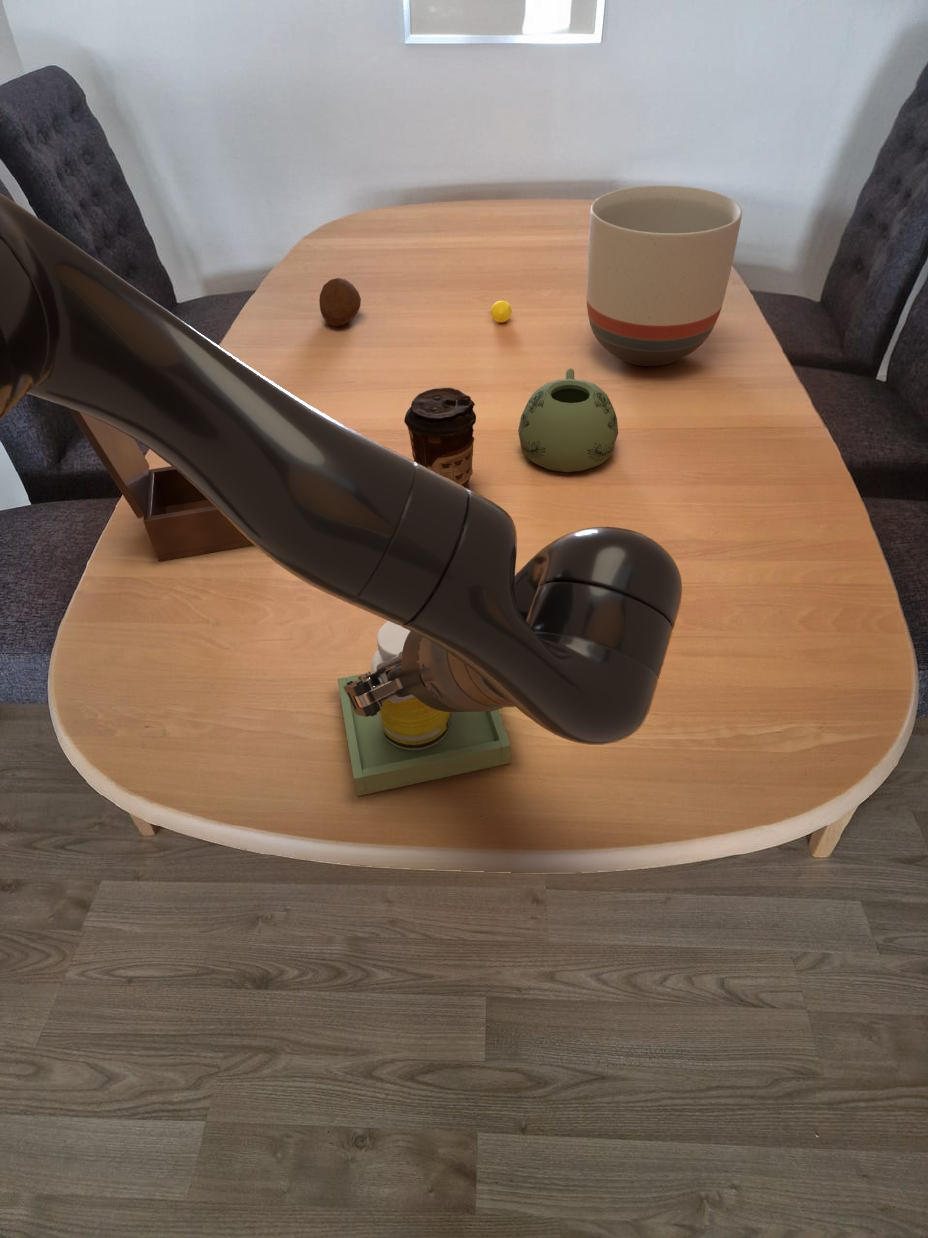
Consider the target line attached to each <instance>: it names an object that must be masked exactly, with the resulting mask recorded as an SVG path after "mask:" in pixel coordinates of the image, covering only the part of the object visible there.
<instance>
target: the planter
mask: <svg viewBox="0 0 928 1238" xmlns="http://www.w3.org/2000/svg"><path fill="white" fill-rule="evenodd" d="M742 218H743V209H742V207H741V205H740V204H739V203H738V202H737V201H736V200H734V199H733V198H731V197H728V196H726V195H725V194H721V193H719V192H715V191H713V190H708V189H704V188H698V187H692V186H681V185H664V184H663V185H662V184H661V185H641V186H633V187H626V188H621V189H617V190H613V191H610V192H608V193H605V194H602V195H601V196H599V197H598V198H596V199H595V200H594V201H593V202H592V203H591V206H590V213H589V227H588V241H587V243H588V244H587V258H586V259H587V261H586V293H585V294H586V298H585V299H586V311H587V317H588V321H589V325H590V328H591V331H592V333H593V335H594V337H595V338H596V340H597V341H598V342H599V344H600V345H601V346H602V347H603V348H604V349H605V350H606V351H608V353H610V354H611V355H612V356H614V357H615V358H617V359H619V360H620V361H623V362H625V363H628V364H632V365H636V366H642V367H658V366H664V365H669V364H673V363H675V362H677V361H681V360H682V359H683V358H685V357H687V356H689V355H690V354H692V353H693V352H695V351H696V350H698V348H699V347H700V346H702V345H703V344H704V343H705V341H706V340H707V339H708V338H709V336H710V334H711V333H712V332H713V330H714V328H715V326H716V324H717V321H718V320H719V317H720V315H721V311H722V308H723V304H724V301H725V296H726V293H727V288H728V283H729V280H730V276H731V271H732V266H733V262H734V257H735V253H736V247H737V243H738V238H739V232H740V227H741V222H742Z"/></svg>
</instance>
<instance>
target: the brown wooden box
mask: <svg viewBox="0 0 928 1238" xmlns="http://www.w3.org/2000/svg"><path fill="white" fill-rule="evenodd" d="M142 519H143V521H142V522H143V524H144V527H145V530H146V532H147V535H148V537H149V540H150V543H151V545H152V548H153V551H154V553H155V556H156V559H157V561H158V562H163V561H170V560H176V559H181V558H187V557H192V556H199V555H205V554H210V553H216V552H222V551H223V552H224V551H228V550H235V549H240V548H246V547H253V546H255V545H254V544H253V543H252V542H251V541H249V540H248V539H247V538H246V537H245V536H244V535H243V534H242V533H241V532H240V531H239V530H238V529H237V528H236V527H235V526H234V525H233V524H232V523H231V522H230V521H229V520H228V519H227V518H226V517H225V516H224V515H223V514H222V513H221V512H220V511H219V510H218V509H217V508H216V507H215V506H214V505H213V504H212V503H211V502H210V501H209V500H208V499H207V498H206V497H205V496H204V495H203V494H202V493H201V492H200V491H199V490H198V489H197V488H196V487H195V486H194V485H193V484H192V483H190V482H189V481H188V480H187V479H186V478H185V477H184V476H183V475H182V474H180V473H179V472H178V471H177V470H176V469H175V468H173V467H172V466H171V465H169V466H163V467H158V468H149V475H148V487H147V499H146V511H145V517H142Z"/></svg>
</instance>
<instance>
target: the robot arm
mask: <svg viewBox="0 0 928 1238" xmlns="http://www.w3.org/2000/svg"><path fill="white" fill-rule="evenodd" d="M25 395H30V396H34V397H37V398H39V399H43V400H45V401H49V402H51V403H54V404H57V405H60V406H63V407H65V408H67V407H68V408H71V409H73V410H76V411H78V412H81V413H84V414H86V415H89V416H91V417H93V418H96V419H98V420H100V421H102V422H104V423H106V424H108V425H110V426H112V427H114V428H116V429H118V430H120V431H122V432H123V433H125V434H127V435H128V436H130V437H132V438H134V440H135V441H136V442H138V443H140V444H141V445H143V446H144V447H146V448H148V449H149V450H150V451H151V452H153V453H154V454H156V455H157V456H158V457H159V458H160V459H162V460H163V461H164V462H166V463H167V464H168V465H169V466H172V467H173V468H175V469H176V470H177V471H178V472H179V473H180V474H182V475H183V476H184V477H185V478H186V479H187V480H188V481H189V482H190V483H192V484H193V485H194V486H195V487H196V488H197V489H198V490H199V491H200V492H201V493H202V494H203V495H204V496H205V497H206V498H207V499H208V500H209V501H210V502H211V503H212V504H213V505H214V506H215V507H216V508H217V509H218V510H219V511H220V512H221V513H222V514H223V515H224V516H225V517H226V518H227V519H228V520H229V521H230V522H231V523H232V524H233V525H234V526H235V527H236V528H237V529H238V530H239V531H240V532H241V533H242V534H243V535H244V536H245V537H246V538H247V539H248V540H249V541H251V542H252V543H253V544H254V545H253V546H254V547H256V548H257V549H258V550H259V551H261V553H262V554H264V555H265V556H267V558H269V559H271V560H272V561H273V562H274V563H275V564H277V565H279V566H280V567H282V568H283V569H284V570H286V571H287V572H288V573H289V574H291V575H293V576H294V577H296V578H298V579H299V580H301V581H302V582H304V583H306V584H307V585H309V586H311V587H312V588H315V589H317V590H319V591H320V592H323V593H325V594H326V595H329V596H331V597H333V598H334V599H335V598H336V599H337V600H340V601H342V602H345V603H347V604H349V605H351V606H354V607H356V608H358V609H360V610H363V611H364V612H366V613H367V612H368V613H370V614H371V615H373V616H377V617H378V618H381V619H383V620H385V621H386V622H387V621H390V622H392V623H394V624H397V625H400V626H401V627H403V628H405V629H408V630H410V632H409V634H408V636H407V638H406V640H405V643H404V646H403V651H402V652H400V653H399V655H397V656H395V657H392V658H390V659H388V660H386V661H384V662H382V663H380V664H378V665H377V667H376V669H377V670H376V671H373V672H371V670H370V671H367V672H365V673H362V674H363V675H361V676H359V677H358V680H356V681H354V682H353V681H350V682H348V683H347V685H345V686H343V688H344V690H345V692H346V693H347V695H348V697H349V699H350V701H351V703H352V706H353V708H354V711H355V713H356V715H360V716H364V717H368V716H371V717H372V716H375V715H376V714H377V712H379V711H380V710H381V708H383V704H382V703H383V702H384V701H386V700H390V701H392V702H393V703H394V704H397V703H400V702H403V701H406V700H409V699H412V698H415V697H416V698H417V699H419V700H420V701H421V702H423V703H424V704H426V705H427V706H429V707H431V708H433V709H436V710H439V711H444V712H487V711H495V710H499V711H500V710H503V709H506V708H516V709H518V711H520V712H521V713H522V714H524V715H525V716H526V717H528V718H529V719H530V720H532V722H534V723H536V724H537V725H538V726H540V727H541V728H543V729H544V730H546V731H548V732H549V733H551V734H553V735H554V736H558V737H560V738H562V739H564V740H567V741H569V742H573V743H577V744H580V745H587V746H604V745H610V744H614V743H619V742H620V741H623V740H626V739H628V738H629V737H631V736H632V735H633V734H635V733H637V732H638V730H640V728H641V727H642V726H643V724H644V723H645V722H646V719H647V717H648V715H649V712H650V710H651V706H652V705H653V704H652V703H653V700H654V697H655V693H656V691H657V687H658V683H659V680H660V676H661V672H662V669H663V666H664V662H665V659H666V657H667V656H666V655H667V653H668V649H669V646H670V642H671V639H672V636H673V630H674V628H675V625H676V622H677V618H678V616H679V612H680V609H681V604H682V597H683V581H682V580H683V579H682V576H681V572H680V570H679V567H678V565H677V563H676V562H675V559H674V558H673V557H672V556H671V554H670V553H669V552H668V551H667V549H666V548H664V546H663V545H661V544H659V543H658V542H657V541H655V540H654V539H653V538H652V537H649V536H648V535H645V534H643V533H642V532H641V533H640V532H639V531H635V530H633V529H628V528H622V527H615V526H594V527H587V528H583V529H579V530H576V531H573V532H569V533H567V534H564V535H562V536H559V537H557V538H556V539H555V540H553V541H551V542H550V543H549V544H547V545H546V546H544V547H542V548H541V550H539V551H538V552H537V553H536V554H535V555H534V556H533V557H532V558H531V559H530V560H529V561H528V562H526V564H524V566H523V567H521V568H520V570H519V571H518V572H516V565H517V554H518V551H517V550H518V535H517V528H516V525H515V522H514V520H513V518H512V517H511V515H510V514H509V513H508V512H507V511H506V510H505V509H504V508H502V506H500V505H498V504H497V503H495V502H493V500H490V499H488V498H487V497H485V496H483V495H482V494H480V493H477V492H475V491H473V490H472V489H470V490H469V489H467V488H464V487H463V486H462V485H460V484H458V483H456V482H454V481H452V480H450V479H448V478H446V477H444V476H442V475H440V474H438V473H436V472H434V471H432V470H430V469H429V468H427V467H425V466H423V465H421V464H419V463H417V462H414V460H413V459H411V458H410V457H407V456H405V455H403V454H401V453H399V452H397V451H396V450H393V449H391V448H389V447H387V446H385V445H383V444H381V443H379V442H377V441H375V440H373V439H371V438H369V437H368V436H366V435H364V434H362V433H360V432H359V431H356V430H354V429H353V428H351V427H349V426H347V425H346V424H343V423H341V422H340V421H338V420H336V419H334V418H333V417H331V416H329V415H328V414H326V413H324V412H323V411H321V410H319V409H317V408H316V407H315V406H312V405H310V404H309V403H307V402H305V401H304V400H302V398H299V397H298V396H296V395H294V394H293V393H291V392H290V391H288V390H286V389H285V388H283V387H282V386H280V385H278V384H277V383H275V382H274V381H272V380H271V379H269V378H268V377H266V376H265V375H263V374H261V373H260V372H259V371H257V370H255V369H253V368H252V367H251V366H249V365H247V364H246V363H244V362H243V361H241V360H240V359H239V358H237V357H236V356H235V355H233V354H231V353H230V352H229V351H227V350H226V349H224V348H222V347H221V346H219V345H218V344H217V343H215V342H214V341H212V340H211V339H209V338H208V337H207V336H205V335H203V334H202V333H201V332H199V331H198V330H196V329H195V328H193V327H192V326H190V324H187V323H186V322H185V321H184V320H182V319H180V318H179V317H178V316H176V315H175V314H173V313H172V312H170V311H169V310H168V309H167V308H165V307H164V306H162V305H160V304H159V303H158V302H157V301H154V300H153V299H152V298H151V297H149V296H147V295H146V294H144V293H143V292H141V291H140V290H139V289H137V288H135V287H134V286H133V285H132V284H130V283H129V282H127V281H126V280H125V279H123V278H122V277H120V276H119V275H117V274H116V273H115V272H113V271H112V270H111V269H109V268H107V266H105V265H104V264H102V263H101V262H99V261H98V260H97V259H96V258H94V257H93V256H91V255H90V254H89V253H87V252H85V251H84V250H83V249H82V248H80V247H79V246H77V244H75V243H74V242H72V241H70V240H69V239H68V238H67V237H65V236H64V235H63V234H61V233H59V232H58V231H56V230H55V229H54V228H53V227H52V226H50V225H48V223H46V222H44V221H43V220H41V219H40V218H38V217H36V215H34V214H33V213H31V212H30V211H28V210H27V209H25V208H23V207H22V206H21V205H20V204H18V203H17V202H15V201H13V200H11V198H9V197H7V196H5V194H3V193H1V192H0V421H1V420H2V419H3V418H4V417H5V416H6V415H7V414H8V413H9V412H10V411H11V410H12V409H13V407H14V406H15V405H16V404H17V403H18V402H19V401H21V399H22V398H23V397H24V396H25ZM68 408H67V409H68ZM398 663H400V664H399V665H397V666H396V667H395V665H396V664H398ZM378 677H379V678H381V680H382V682H383V683H382V684H381V682H380V680H379V678H378Z"/></svg>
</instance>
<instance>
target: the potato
mask: <svg viewBox="0 0 928 1238" xmlns="http://www.w3.org/2000/svg"><path fill="white" fill-rule="evenodd" d="M361 302H362V298H361V295H360V292H359V291H358V290H357V288H356V286H355V285H354V284H353V283H351V281H349V280H347V279H345V278H340V277H335V278H331V279H330V280H328V281H327V282H326V283H324V284H323V285H322V289H321V291H320V294H319V301H318V303H319V310H320V314H321V316H322V318H323V319H324V321H325V322H326V323H328V324H329V325H330V326H331V325H332V326H336V327H338V326H344V325H346V324H348V323H349V322H350V321H352V320H353V319H354V318H355V317H356V316H357V314H358V312H359V310H360V308H361Z"/></svg>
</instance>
